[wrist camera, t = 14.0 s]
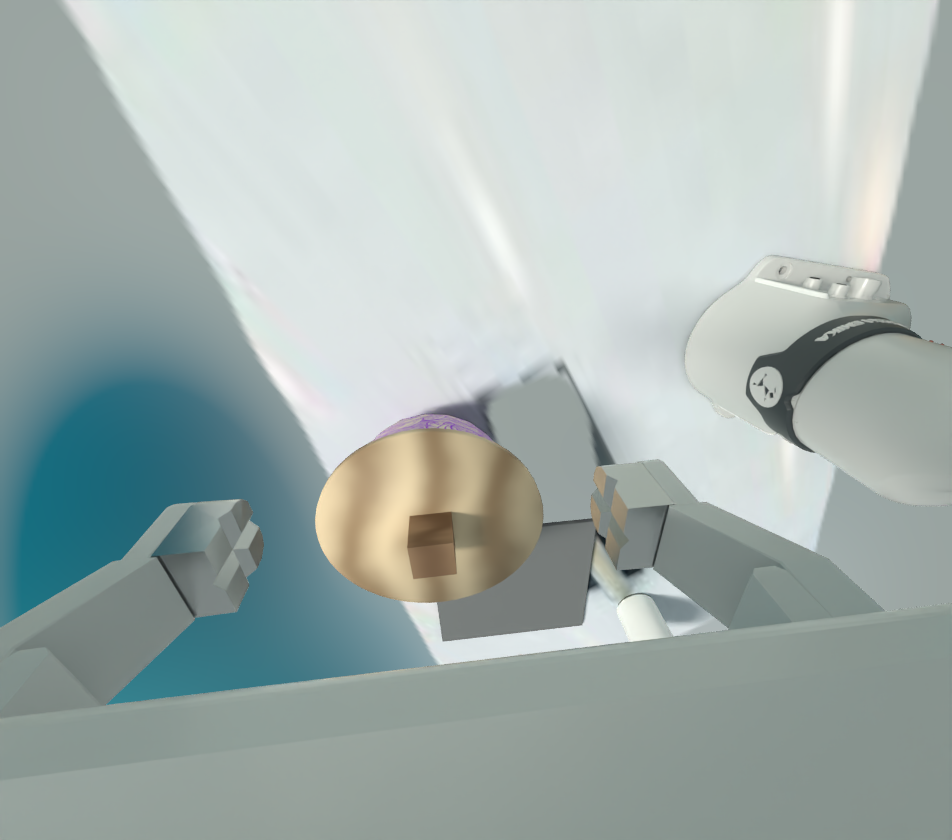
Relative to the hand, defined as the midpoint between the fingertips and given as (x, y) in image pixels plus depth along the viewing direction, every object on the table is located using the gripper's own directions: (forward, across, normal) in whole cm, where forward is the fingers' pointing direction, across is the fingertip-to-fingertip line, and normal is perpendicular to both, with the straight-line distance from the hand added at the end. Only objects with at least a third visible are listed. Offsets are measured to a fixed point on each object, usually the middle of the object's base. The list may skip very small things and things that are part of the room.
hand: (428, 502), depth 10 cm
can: (+34, -29, +56) cm, 72 cm away
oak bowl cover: (+23, +2, +22) cm, 32 cm away
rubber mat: (+34, -8, +47) cm, 59 cm away
